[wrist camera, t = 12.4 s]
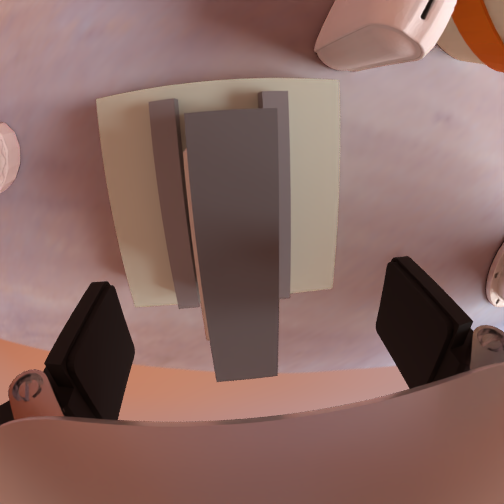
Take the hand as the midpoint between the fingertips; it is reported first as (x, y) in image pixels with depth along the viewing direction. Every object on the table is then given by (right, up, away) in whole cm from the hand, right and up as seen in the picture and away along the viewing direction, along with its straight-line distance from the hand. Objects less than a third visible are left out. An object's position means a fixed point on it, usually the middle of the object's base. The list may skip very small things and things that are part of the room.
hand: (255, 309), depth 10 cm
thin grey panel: (-2, +5, +11) cm, 12 cm away
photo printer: (+8, +21, +9) cm, 24 cm away
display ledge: (-2, +7, +14) cm, 16 cm away
